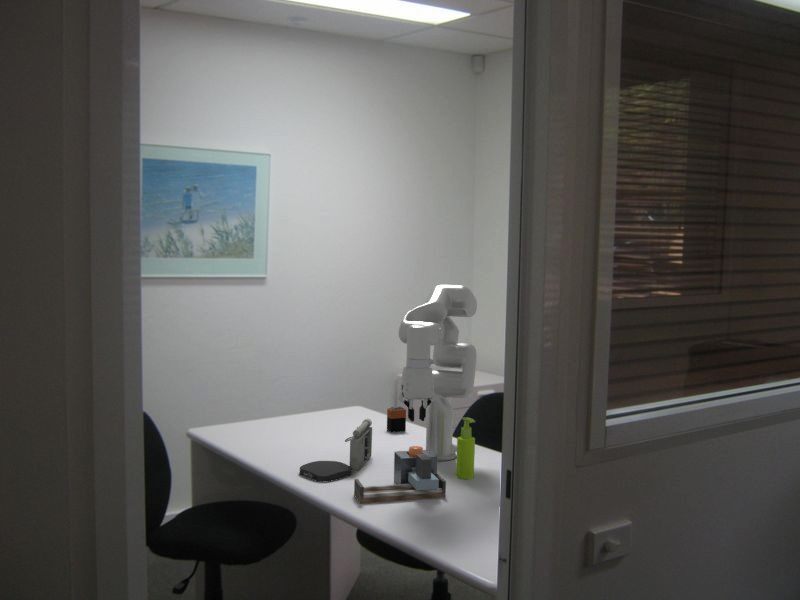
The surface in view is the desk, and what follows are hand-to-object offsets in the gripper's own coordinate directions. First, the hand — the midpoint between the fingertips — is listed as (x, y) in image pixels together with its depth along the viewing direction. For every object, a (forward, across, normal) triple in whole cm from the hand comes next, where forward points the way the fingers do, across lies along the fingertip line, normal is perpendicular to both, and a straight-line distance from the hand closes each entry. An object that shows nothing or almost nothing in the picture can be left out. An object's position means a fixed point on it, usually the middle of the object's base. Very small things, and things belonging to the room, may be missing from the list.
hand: (416, 419), depth 258 cm
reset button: (+13, 0, 0) cm, 13 cm away
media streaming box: (+22, +26, -17) cm, 38 cm away
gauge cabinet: (+21, 0, 0) cm, 21 cm away
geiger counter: (+21, +11, -29) cm, 38 cm away
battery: (+21, -13, -68) cm, 72 cm away
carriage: (+18, 0, +10) cm, 21 cm away
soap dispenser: (+21, -19, -4) cm, 29 cm away
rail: (+21, +8, +10) cm, 25 cm away
